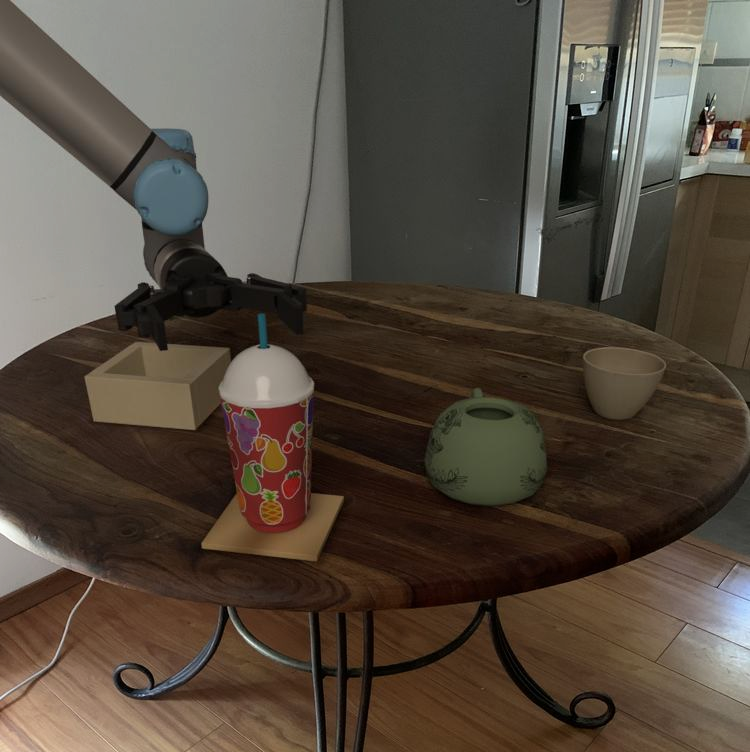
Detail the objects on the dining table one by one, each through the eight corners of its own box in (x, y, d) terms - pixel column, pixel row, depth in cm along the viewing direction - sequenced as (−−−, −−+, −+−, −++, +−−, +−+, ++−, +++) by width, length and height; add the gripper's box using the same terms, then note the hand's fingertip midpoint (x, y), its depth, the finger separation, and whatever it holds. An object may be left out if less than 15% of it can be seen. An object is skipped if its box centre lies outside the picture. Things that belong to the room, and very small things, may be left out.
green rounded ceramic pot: (557, 514, 73) (569, 435, 69) (428, 515, 73) (432, 436, 69) (524, 443, 87) (532, 374, 83) (416, 445, 87) (418, 375, 82)
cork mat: (201, 548, 68) (201, 543, 68) (242, 490, 77) (241, 485, 77) (317, 561, 66) (316, 556, 66) (344, 501, 75) (343, 496, 75)
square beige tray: (93, 421, 92) (83, 376, 89) (142, 382, 104) (135, 341, 101) (195, 430, 90) (189, 384, 87) (233, 389, 102) (229, 347, 99)
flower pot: (603, 432, 90) (613, 377, 86) (560, 402, 98) (568, 350, 95) (671, 422, 93) (683, 368, 89) (624, 393, 101) (634, 343, 97)
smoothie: (331, 503, 74) (325, 305, 64) (300, 548, 67) (288, 334, 57) (255, 491, 76) (237, 297, 66) (217, 533, 69) (192, 324, 59)
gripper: (291, 300, 95) (352, 350, 78) (88, 321, 86) (106, 382, 69) (288, 239, 91) (351, 278, 74) (75, 255, 82) (91, 303, 66)
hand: (233, 328), depth 72 cm, fingers open, 13 cm apart
